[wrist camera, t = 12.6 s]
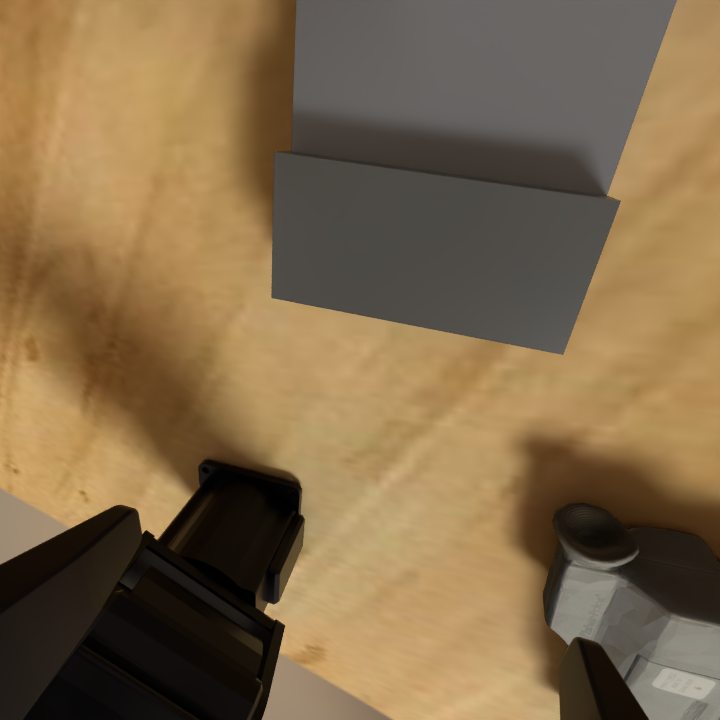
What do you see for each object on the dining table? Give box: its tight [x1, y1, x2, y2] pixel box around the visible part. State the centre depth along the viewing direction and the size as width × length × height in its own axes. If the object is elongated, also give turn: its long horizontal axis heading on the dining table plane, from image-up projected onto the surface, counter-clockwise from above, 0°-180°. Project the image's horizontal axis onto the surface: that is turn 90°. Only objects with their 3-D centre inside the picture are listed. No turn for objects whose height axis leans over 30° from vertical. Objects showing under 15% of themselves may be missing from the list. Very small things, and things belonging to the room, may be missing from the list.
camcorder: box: [543, 503, 720, 720], centre depth 22 cm, size 16×20×5 cm
